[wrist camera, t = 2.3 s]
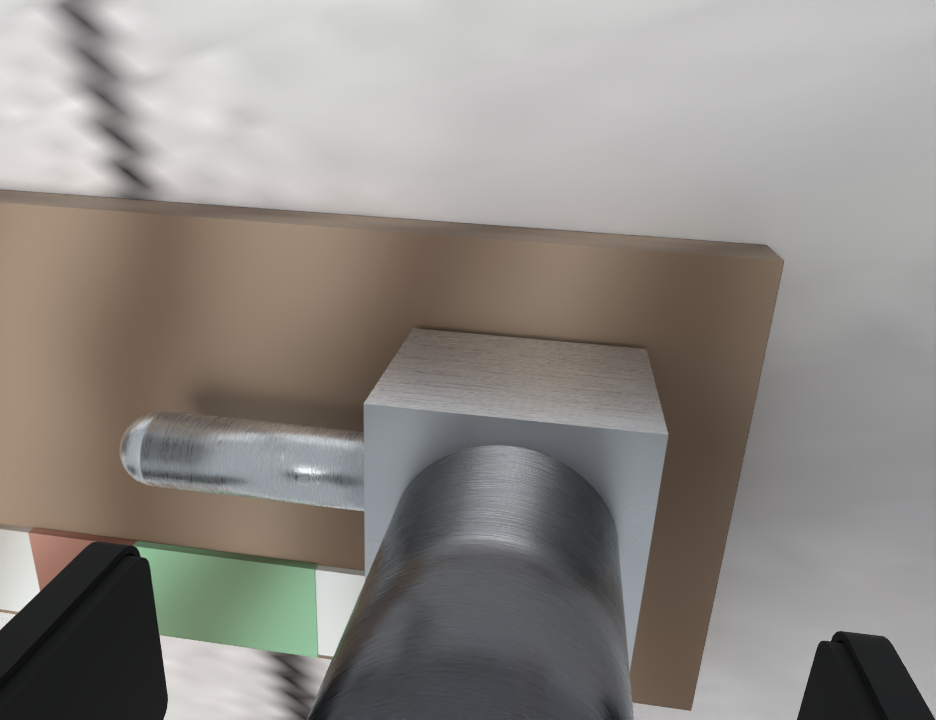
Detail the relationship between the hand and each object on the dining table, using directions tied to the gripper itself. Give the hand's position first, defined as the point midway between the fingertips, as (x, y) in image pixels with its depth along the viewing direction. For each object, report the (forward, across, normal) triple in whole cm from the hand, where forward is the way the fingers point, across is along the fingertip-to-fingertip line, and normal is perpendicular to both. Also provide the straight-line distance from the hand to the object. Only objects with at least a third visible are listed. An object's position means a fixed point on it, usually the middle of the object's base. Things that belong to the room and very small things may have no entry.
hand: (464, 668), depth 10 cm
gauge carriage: (+7, +3, +2) cm, 8 cm away
